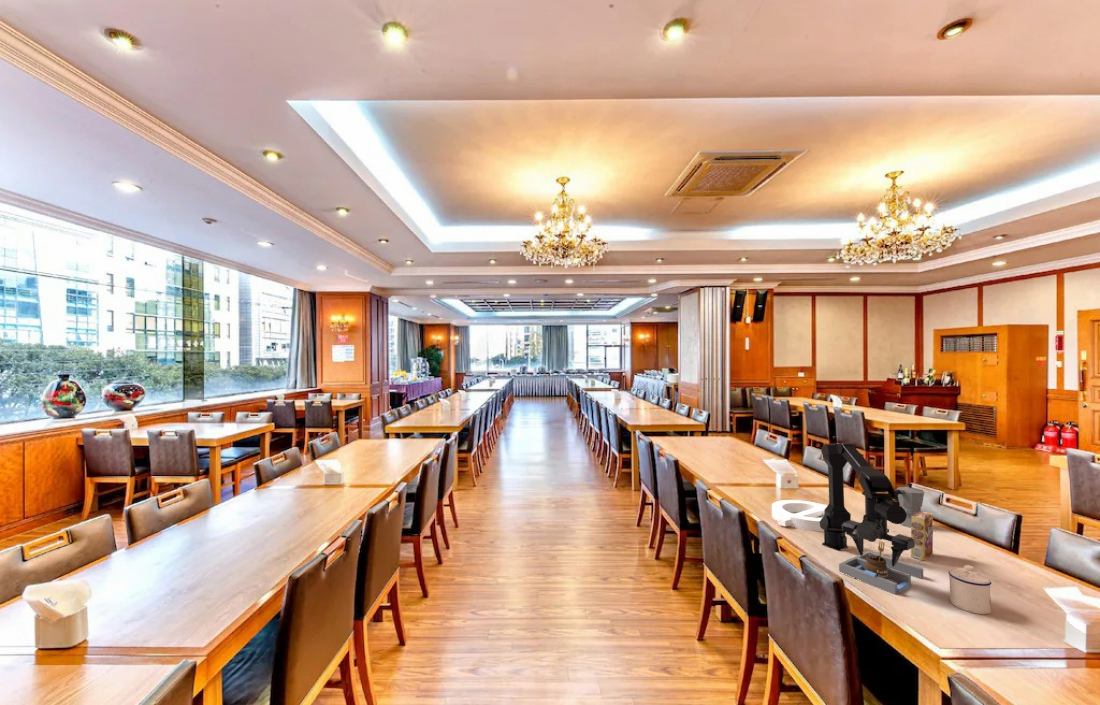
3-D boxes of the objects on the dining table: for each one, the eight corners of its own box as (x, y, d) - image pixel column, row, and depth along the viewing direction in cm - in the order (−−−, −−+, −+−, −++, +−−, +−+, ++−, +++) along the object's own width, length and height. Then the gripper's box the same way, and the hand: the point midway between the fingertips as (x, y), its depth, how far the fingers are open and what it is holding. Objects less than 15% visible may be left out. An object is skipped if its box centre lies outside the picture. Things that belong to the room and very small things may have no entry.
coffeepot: (912, 519, 196) (910, 479, 196) (934, 527, 186) (933, 485, 187) (884, 522, 192) (883, 481, 193) (905, 530, 183) (904, 487, 183)
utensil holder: (861, 577, 144) (860, 541, 145) (873, 573, 147) (872, 538, 147) (880, 585, 139) (879, 548, 139) (892, 582, 141) (891, 544, 142)
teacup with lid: (1001, 616, 122) (1000, 574, 122) (964, 614, 123) (963, 572, 124) (967, 594, 134) (966, 555, 134) (934, 591, 135) (933, 554, 136)
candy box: (925, 561, 155) (924, 518, 155) (910, 557, 159) (909, 515, 159) (934, 555, 160) (933, 513, 160) (919, 551, 164) (918, 510, 164)
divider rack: (839, 572, 148) (839, 562, 148) (868, 558, 158) (868, 548, 158) (895, 594, 134) (895, 582, 134) (924, 577, 144) (923, 567, 144)
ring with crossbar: (778, 528, 187) (778, 517, 187) (766, 507, 214) (766, 497, 214) (854, 535, 179) (854, 524, 179) (831, 512, 206) (831, 502, 206)
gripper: (832, 508, 147) (833, 555, 147) (898, 526, 131) (899, 579, 131) (849, 503, 153) (850, 548, 152) (914, 519, 137) (916, 570, 136)
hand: (877, 560), depth 143 cm, fingers open, 9 cm apart
